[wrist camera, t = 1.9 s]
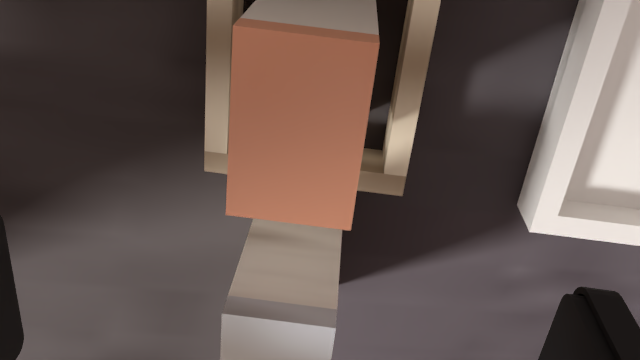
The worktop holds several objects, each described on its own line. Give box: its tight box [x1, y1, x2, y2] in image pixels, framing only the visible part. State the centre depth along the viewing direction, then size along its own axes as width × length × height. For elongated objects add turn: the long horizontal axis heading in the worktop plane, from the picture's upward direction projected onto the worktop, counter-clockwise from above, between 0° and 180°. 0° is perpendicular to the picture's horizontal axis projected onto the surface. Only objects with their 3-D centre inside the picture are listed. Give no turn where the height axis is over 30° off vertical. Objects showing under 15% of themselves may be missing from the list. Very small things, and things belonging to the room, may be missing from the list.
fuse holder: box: [204, 0, 441, 360], centre depth 22 cm, size 26×9×10 cm, turn 174°
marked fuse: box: [226, 0, 380, 231], centre depth 22 cm, size 6×4×10 cm, turn 174°
